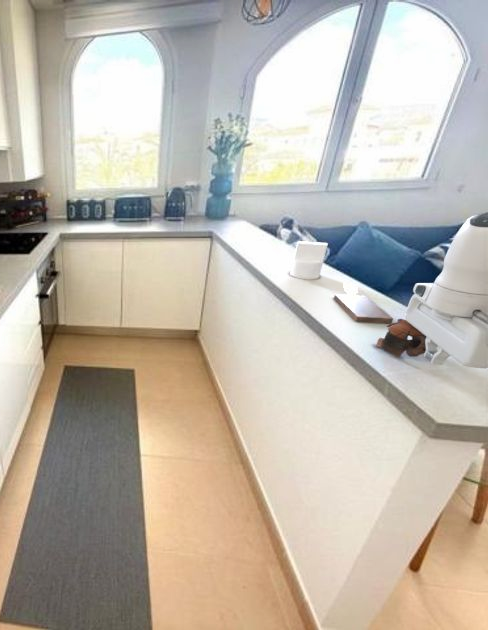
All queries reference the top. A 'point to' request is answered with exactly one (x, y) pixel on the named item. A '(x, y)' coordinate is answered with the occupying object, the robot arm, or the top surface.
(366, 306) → the cutting board
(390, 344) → the pottery mug
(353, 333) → the top surface
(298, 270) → the cylinder with rectangular tab
